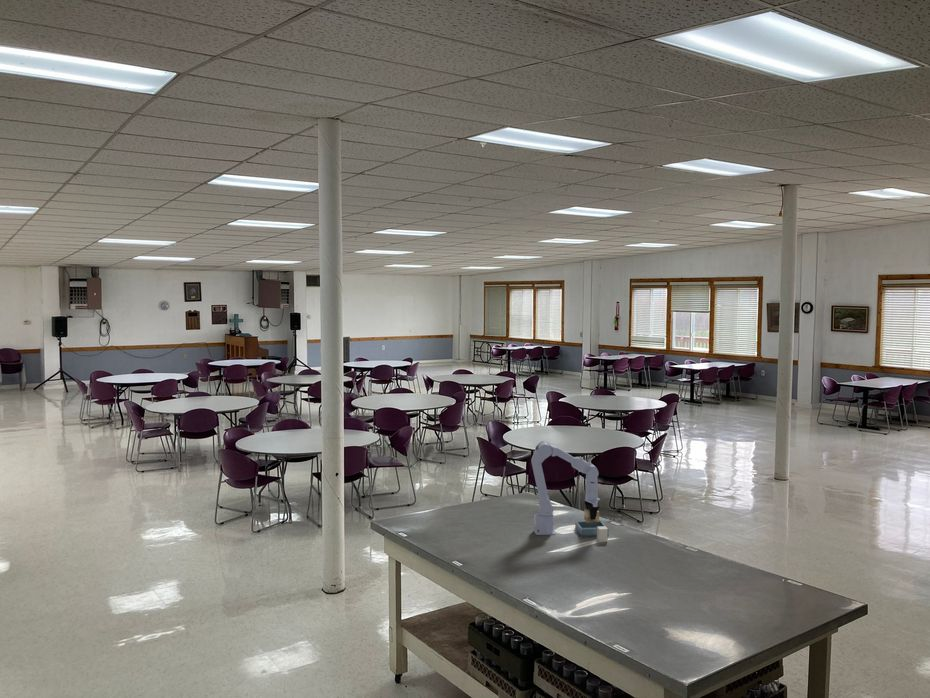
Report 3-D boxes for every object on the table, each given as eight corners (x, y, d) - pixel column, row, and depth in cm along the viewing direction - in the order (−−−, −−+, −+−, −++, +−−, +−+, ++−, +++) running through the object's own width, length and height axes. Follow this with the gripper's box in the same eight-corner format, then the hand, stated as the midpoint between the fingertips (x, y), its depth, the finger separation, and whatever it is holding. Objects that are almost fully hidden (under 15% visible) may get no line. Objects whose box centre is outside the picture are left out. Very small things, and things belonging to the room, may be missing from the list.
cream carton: (599, 541, 316) (599, 529, 315) (596, 539, 320) (596, 526, 319) (607, 541, 316) (607, 528, 315) (605, 538, 320) (605, 526, 319)
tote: (581, 536, 323) (581, 529, 322) (575, 528, 336) (575, 521, 335) (608, 536, 323) (608, 528, 323) (601, 527, 336) (601, 520, 336)
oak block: (587, 522, 326) (587, 512, 326) (584, 519, 331) (584, 509, 331) (599, 522, 327) (599, 511, 327) (596, 519, 332) (596, 509, 332)
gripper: (603, 493, 321) (603, 521, 322) (595, 485, 336) (595, 512, 337) (589, 494, 321) (589, 522, 322) (581, 486, 335) (581, 513, 336)
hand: (591, 517), depth 329 cm, fingers closed on oak block, 5 cm apart
